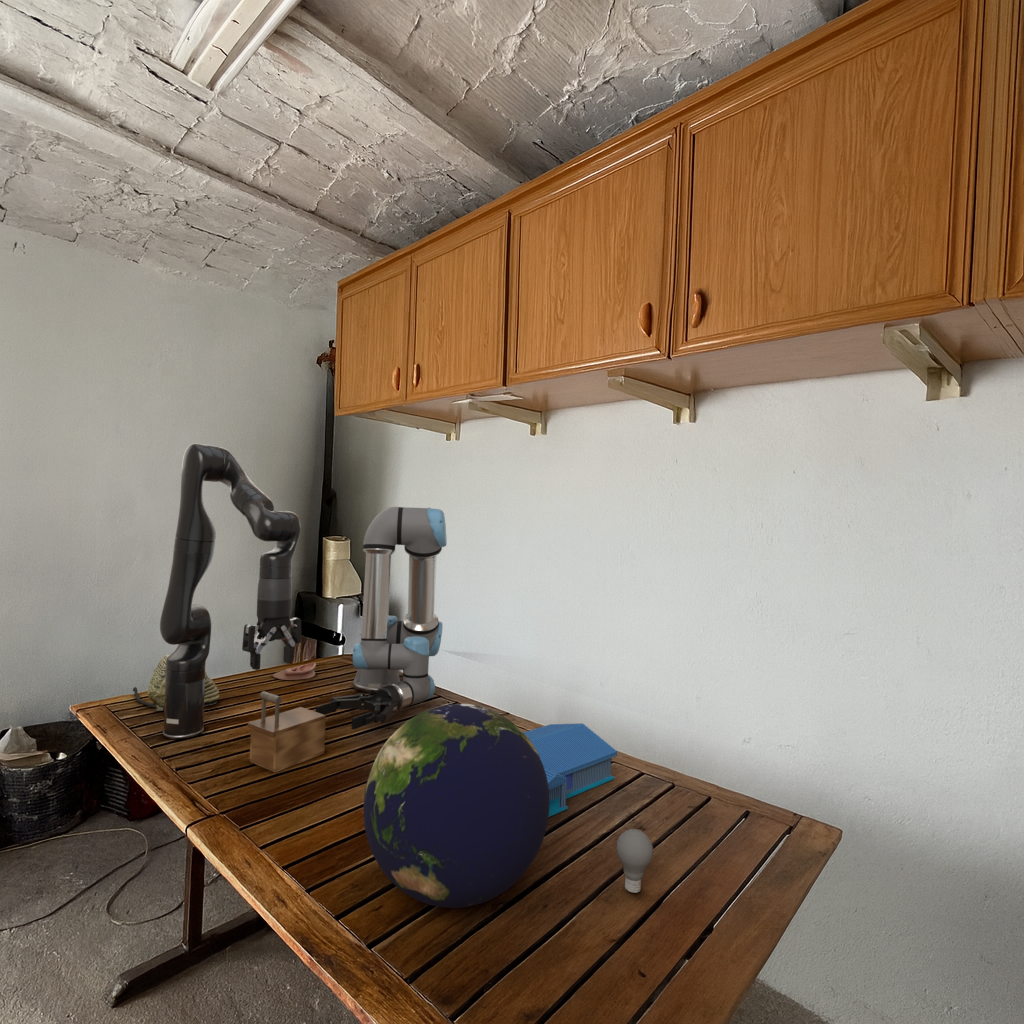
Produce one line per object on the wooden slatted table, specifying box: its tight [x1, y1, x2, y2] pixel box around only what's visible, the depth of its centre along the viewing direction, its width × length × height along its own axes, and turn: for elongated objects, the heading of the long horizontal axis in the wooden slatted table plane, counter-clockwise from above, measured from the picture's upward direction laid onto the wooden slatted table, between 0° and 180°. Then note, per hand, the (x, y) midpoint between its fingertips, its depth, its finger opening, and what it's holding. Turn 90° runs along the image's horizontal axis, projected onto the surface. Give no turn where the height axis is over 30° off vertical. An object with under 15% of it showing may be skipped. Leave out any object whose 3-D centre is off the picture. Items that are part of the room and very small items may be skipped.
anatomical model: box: [272, 662, 317, 681], centre depth 220 cm, size 13×4×12 cm
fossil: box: [147, 654, 221, 712], centre depth 185 cm, size 9×18×15 cm, turn 132°
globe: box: [363, 703, 550, 909], centre depth 103 cm, size 30×30×30 cm
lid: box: [247, 690, 327, 736], centre depth 152 cm, size 15×10×8 cm, turn 147°
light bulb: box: [615, 828, 654, 894], centre depth 106 cm, size 6×6×10 cm
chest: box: [249, 719, 326, 773], centre depth 153 cm, size 14×10×9 cm
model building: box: [523, 722, 618, 818], centre depth 142 cm, size 39×24×10 cm, turn 132°
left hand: (272, 665), depth 148 cm, fingers open, 8 cm apart
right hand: (334, 717), depth 163 cm, fingers open, 13 cm apart
